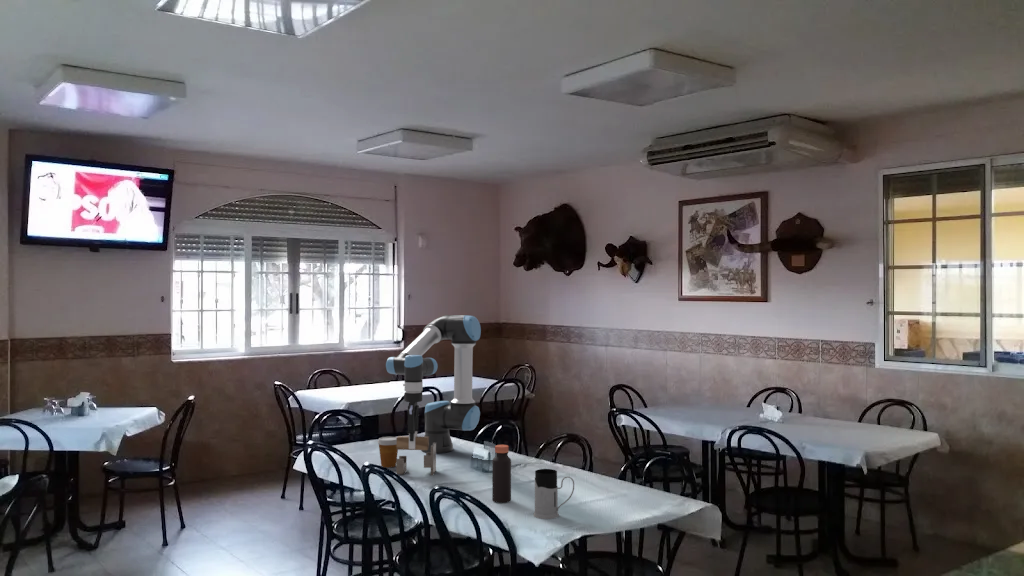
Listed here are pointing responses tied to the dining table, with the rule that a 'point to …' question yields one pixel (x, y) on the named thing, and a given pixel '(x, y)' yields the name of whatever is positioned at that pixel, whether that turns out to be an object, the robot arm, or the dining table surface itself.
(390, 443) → the disposable coffee cup
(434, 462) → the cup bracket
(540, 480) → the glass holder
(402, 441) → the rail
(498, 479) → the bottle
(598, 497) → the dining table surface
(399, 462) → the saddle
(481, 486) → the dining table surface
